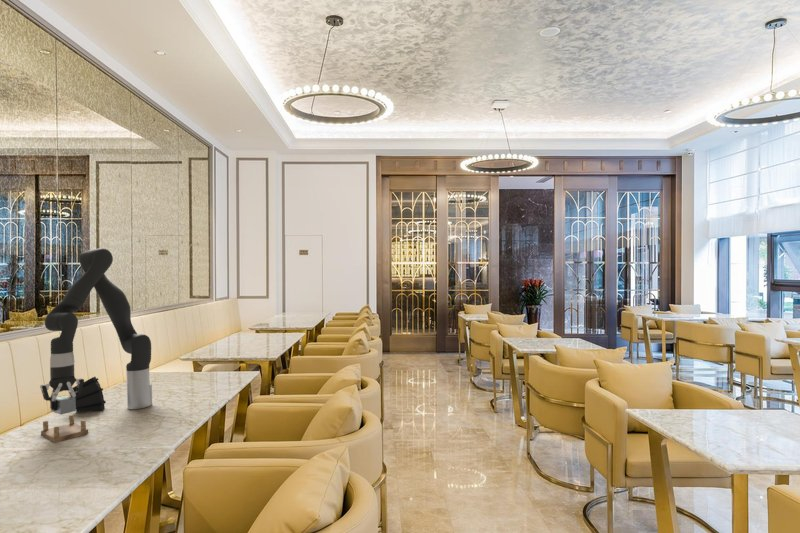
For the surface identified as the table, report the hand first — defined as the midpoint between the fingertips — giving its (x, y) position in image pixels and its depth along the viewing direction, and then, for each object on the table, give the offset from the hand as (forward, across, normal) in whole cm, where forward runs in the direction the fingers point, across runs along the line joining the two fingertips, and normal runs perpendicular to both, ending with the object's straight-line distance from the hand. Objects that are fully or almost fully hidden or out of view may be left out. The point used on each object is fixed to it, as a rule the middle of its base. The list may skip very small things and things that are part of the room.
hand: (63, 408), depth 180 cm
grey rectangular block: (+1, 0, 0) cm, 1 cm away
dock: (+10, 0, 0) cm, 10 cm away
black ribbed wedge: (+10, -17, -28) cm, 34 cm away
